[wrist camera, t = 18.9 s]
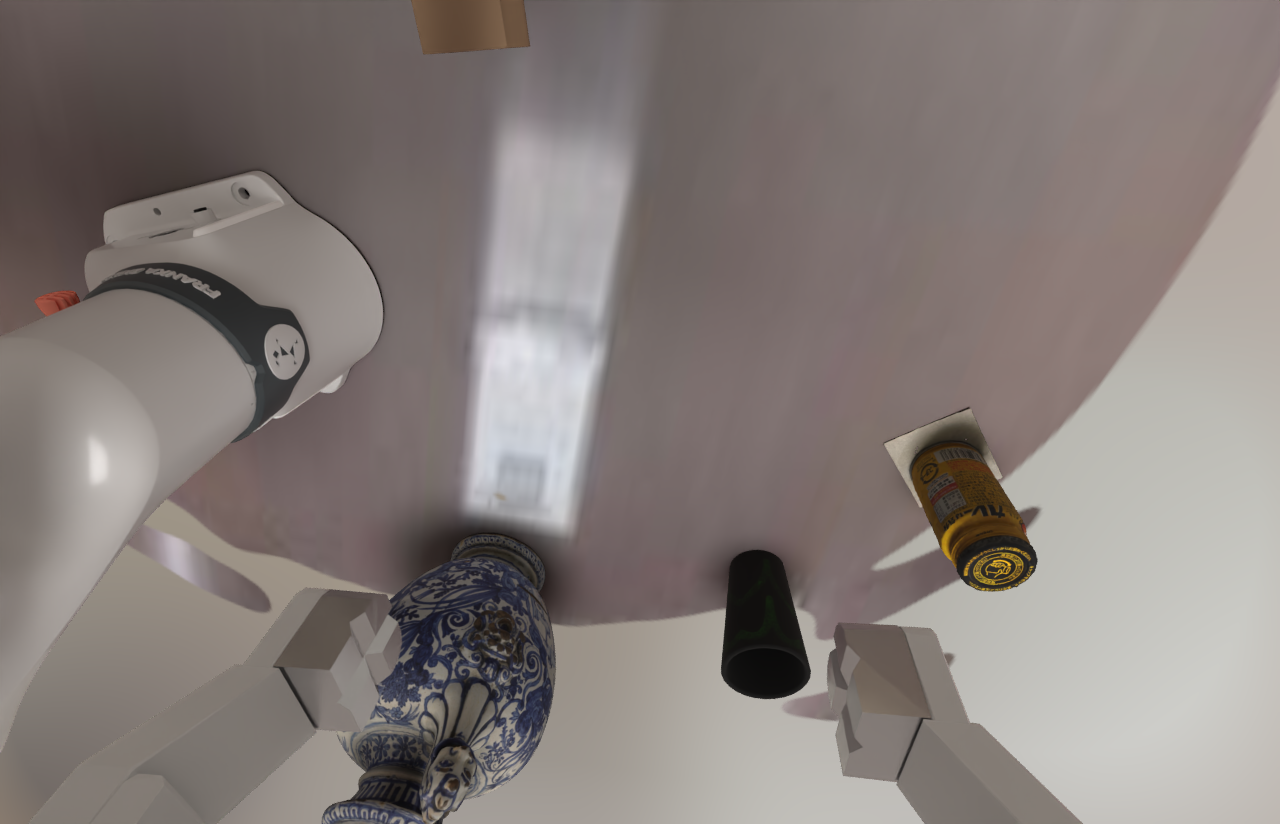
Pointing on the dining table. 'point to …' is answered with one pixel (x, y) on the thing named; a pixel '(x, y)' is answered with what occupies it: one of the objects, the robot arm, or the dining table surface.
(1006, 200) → the dining table surface
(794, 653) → the cup
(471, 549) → the decorative vase
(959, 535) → the condiment
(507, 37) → the mallet
